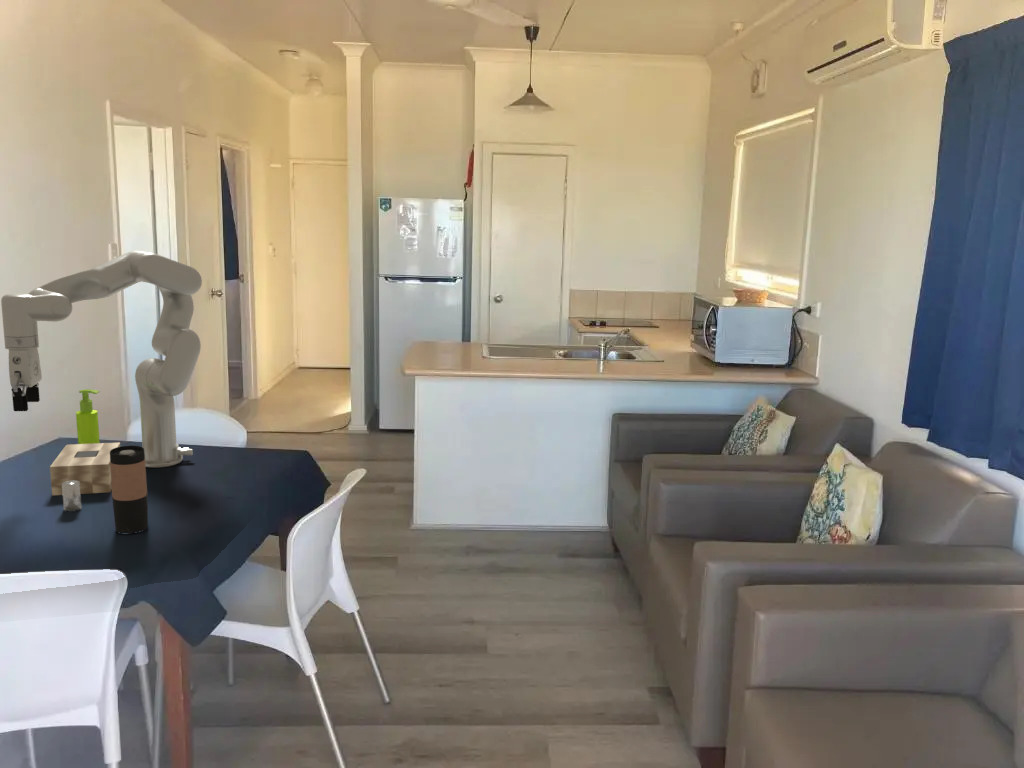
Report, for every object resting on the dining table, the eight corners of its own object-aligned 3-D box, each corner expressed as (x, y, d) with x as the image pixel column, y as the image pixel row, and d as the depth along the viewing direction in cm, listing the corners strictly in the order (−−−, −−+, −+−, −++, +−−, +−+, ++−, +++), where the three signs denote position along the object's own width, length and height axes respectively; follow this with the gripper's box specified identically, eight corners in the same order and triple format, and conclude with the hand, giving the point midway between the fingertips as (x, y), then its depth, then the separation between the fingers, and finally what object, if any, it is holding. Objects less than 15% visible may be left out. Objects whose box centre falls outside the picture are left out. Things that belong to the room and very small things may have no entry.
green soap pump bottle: (97, 456, 248) (93, 392, 244) (75, 455, 248) (70, 391, 244) (107, 450, 254) (103, 388, 249) (85, 449, 254) (80, 387, 249)
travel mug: (121, 522, 201) (116, 445, 196) (153, 522, 201) (149, 445, 197) (109, 534, 193) (103, 454, 189) (142, 535, 194) (137, 455, 190)
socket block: (121, 468, 238) (120, 442, 237) (110, 492, 220) (108, 464, 218) (68, 471, 234) (66, 444, 232) (52, 495, 216) (49, 466, 214)
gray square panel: (98, 453, 228) (98, 450, 228) (95, 459, 224) (94, 456, 224) (78, 454, 227) (78, 451, 227) (75, 460, 222) (74, 457, 222)
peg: (83, 505, 210) (81, 480, 208) (79, 511, 206) (77, 485, 205) (65, 506, 209) (63, 480, 207) (62, 512, 205) (60, 486, 203)
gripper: (27, 348, 202) (32, 414, 205) (47, 336, 218) (52, 398, 222) (-7, 347, 200) (-1, 415, 204) (16, 336, 216) (21, 398, 220)
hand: (27, 406), depth 213 cm, fingers open, 9 cm apart
